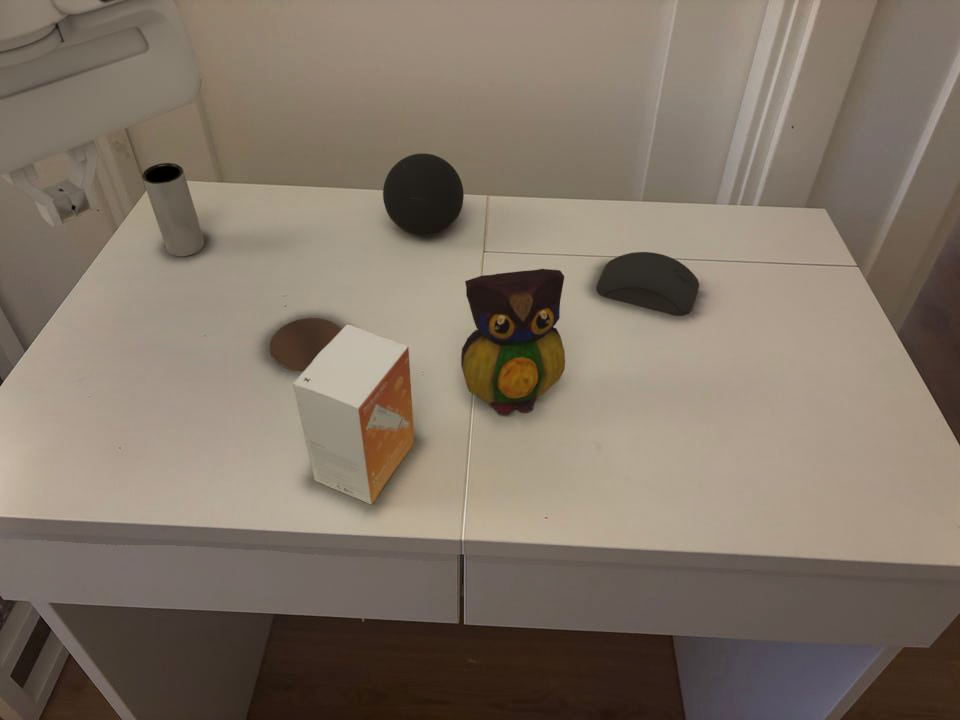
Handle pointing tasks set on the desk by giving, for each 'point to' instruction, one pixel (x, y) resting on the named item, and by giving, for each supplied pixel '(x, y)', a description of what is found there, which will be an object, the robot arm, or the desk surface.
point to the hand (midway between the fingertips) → (72, 214)
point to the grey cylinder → (173, 208)
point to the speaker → (423, 194)
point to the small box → (357, 411)
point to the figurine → (514, 338)
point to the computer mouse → (650, 282)
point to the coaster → (301, 342)
